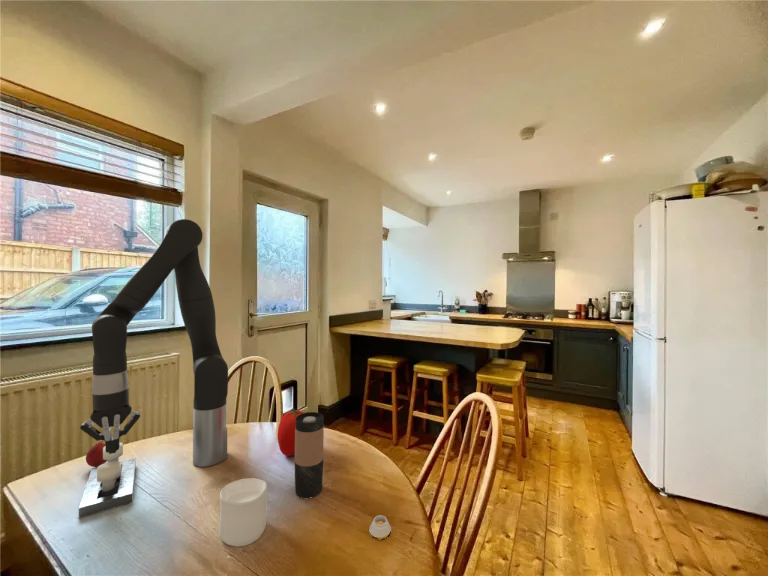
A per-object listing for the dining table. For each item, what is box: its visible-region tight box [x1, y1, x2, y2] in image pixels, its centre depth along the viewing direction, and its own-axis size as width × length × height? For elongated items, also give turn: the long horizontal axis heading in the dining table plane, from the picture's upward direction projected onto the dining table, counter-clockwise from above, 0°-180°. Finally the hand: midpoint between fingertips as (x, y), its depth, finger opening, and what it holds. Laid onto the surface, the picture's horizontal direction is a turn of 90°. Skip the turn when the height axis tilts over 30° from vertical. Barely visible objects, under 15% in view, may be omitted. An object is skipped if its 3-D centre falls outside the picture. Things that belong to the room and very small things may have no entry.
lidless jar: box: [368, 514, 392, 538], centre depth 75 cm, size 5×3×5 cm
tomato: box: [276, 408, 306, 457], centre depth 108 cm, size 13×11×14 cm
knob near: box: [97, 461, 121, 491], centre depth 83 cm, size 4×4×6 cm
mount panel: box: [78, 457, 137, 519], centre depth 88 cm, size 10×20×2 cm, turn 35°
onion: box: [85, 440, 108, 468], centre depth 98 cm, size 6×6×8 cm
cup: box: [218, 477, 268, 548], centre depth 74 cm, size 10×10×10 cm
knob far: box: [103, 441, 124, 462], centre depth 93 cm, size 4×4×6 cm
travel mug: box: [294, 411, 325, 499], centre depth 89 cm, size 8×8×20 cm
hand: (112, 452), depth 88 cm, fingers closed
